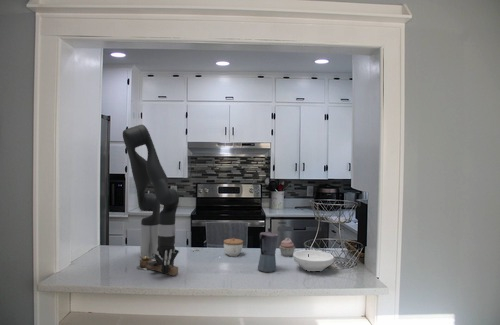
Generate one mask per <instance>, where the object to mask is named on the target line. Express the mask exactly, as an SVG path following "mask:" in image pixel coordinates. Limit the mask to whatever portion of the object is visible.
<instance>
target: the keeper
mask: <svg viewBox="0 0 500 325" xmlns="http://www.w3.org/2000/svg"><path fill="white" fill-rule="evenodd" d="M174 263H175V260H174V261H173V262H172V263H170V264H169V265H172V266H175V264H174ZM149 265H150V266H157V265H160V264H158V263H157V261H156V260H153V262H150V263H149Z"/></svg>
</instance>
